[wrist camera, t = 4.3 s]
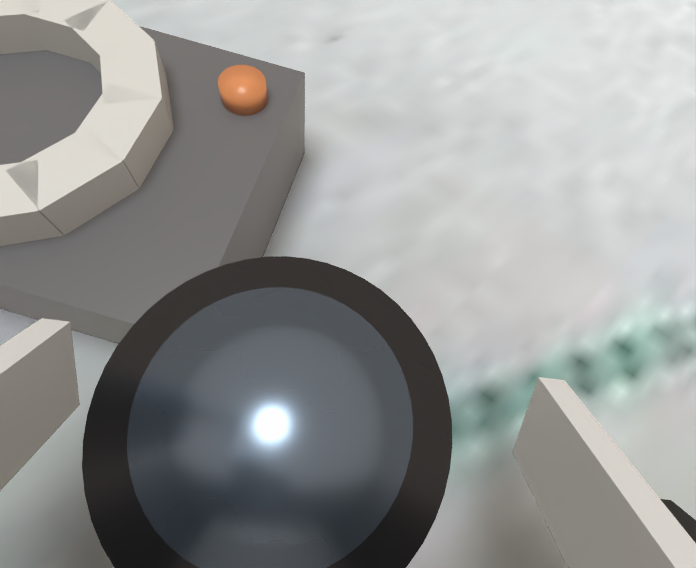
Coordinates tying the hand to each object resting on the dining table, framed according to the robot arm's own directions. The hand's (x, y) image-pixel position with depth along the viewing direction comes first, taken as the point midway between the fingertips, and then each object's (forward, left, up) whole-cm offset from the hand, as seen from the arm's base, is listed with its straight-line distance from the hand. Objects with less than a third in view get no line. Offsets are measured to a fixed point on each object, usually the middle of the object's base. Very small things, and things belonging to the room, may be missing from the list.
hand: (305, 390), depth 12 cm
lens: (0, -1, -6) cm, 6 cm away
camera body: (-13, +7, -6) cm, 16 cm away
